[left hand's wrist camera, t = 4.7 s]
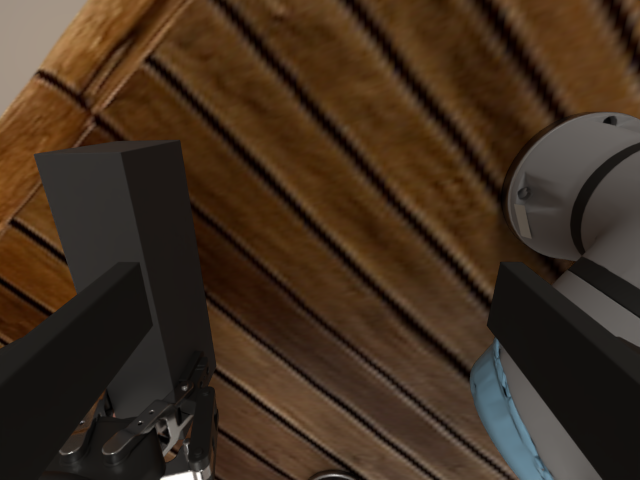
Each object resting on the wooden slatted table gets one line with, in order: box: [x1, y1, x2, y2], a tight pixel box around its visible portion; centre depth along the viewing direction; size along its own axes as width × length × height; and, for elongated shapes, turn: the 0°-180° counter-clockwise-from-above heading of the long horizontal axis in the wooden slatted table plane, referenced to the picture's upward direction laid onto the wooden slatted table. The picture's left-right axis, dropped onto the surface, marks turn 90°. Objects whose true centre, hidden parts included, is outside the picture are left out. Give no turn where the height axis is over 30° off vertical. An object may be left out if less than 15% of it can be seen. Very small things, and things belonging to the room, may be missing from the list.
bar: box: [34, 140, 216, 439], centre depth 27 cm, size 22×5×8 cm, turn 1°
